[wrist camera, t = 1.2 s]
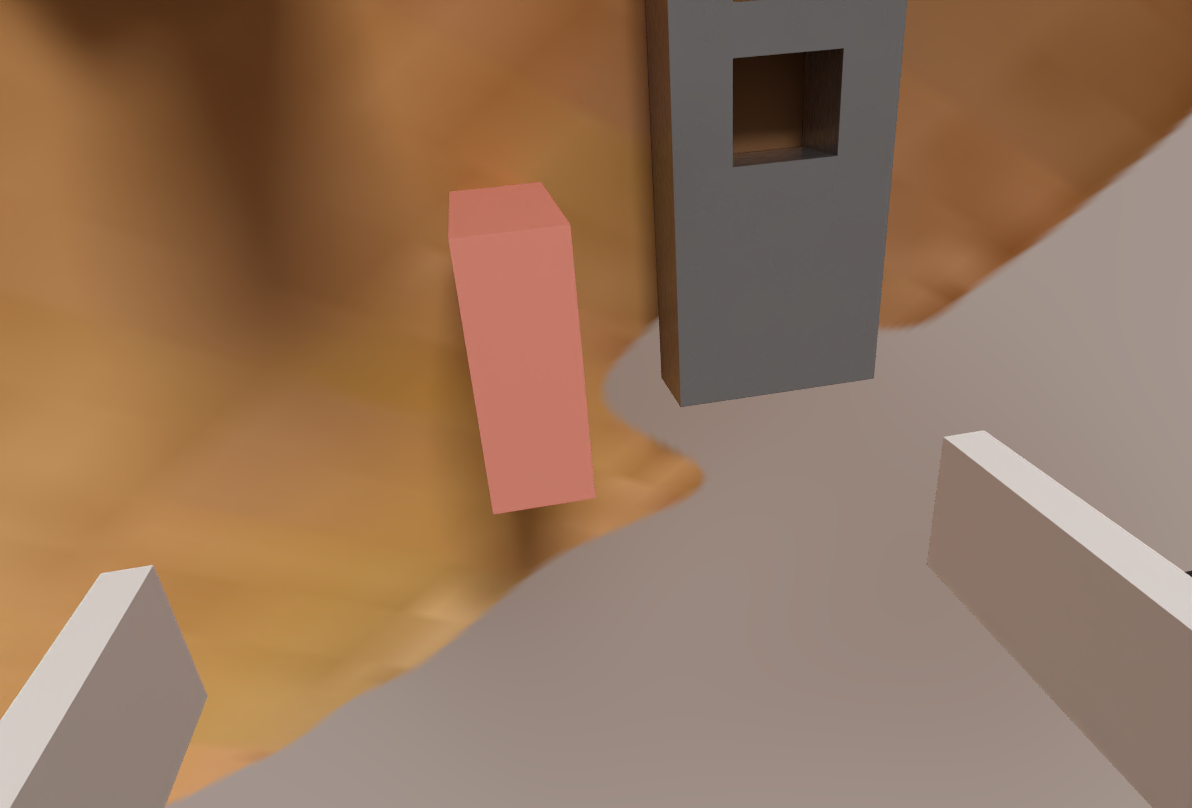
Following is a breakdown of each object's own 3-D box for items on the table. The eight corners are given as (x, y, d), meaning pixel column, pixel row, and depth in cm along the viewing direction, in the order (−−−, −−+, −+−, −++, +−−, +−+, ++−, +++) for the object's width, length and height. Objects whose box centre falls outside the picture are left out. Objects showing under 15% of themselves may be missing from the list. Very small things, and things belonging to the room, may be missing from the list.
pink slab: (481, 380, 31) (493, 514, 22) (449, 178, 27) (447, 238, 18) (554, 370, 31) (595, 498, 22) (532, 169, 28) (570, 224, 19)
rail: (661, 377, 32) (680, 407, 29) (623, -484, 21) (649, -564, 18) (839, 352, 33) (873, 378, 30) (894, -484, 22) (956, -560, 19)
